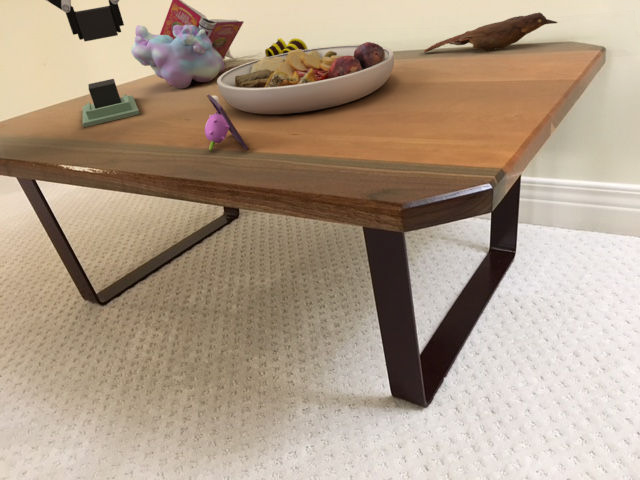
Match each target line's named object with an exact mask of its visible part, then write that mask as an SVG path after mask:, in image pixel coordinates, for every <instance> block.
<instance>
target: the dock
mask: <svg viewBox="0 0 640 480" xmlns="http://www.w3.org/2000/svg"><path fill="white" fill-rule="evenodd" d="M87 85H88V91H89V94H90V98H91V100H92V103H91V102H87V103H85V105H82V127H83V128H87V127H91V126H97V125H100V124H104V123H110V122H114V121H117V120H121V119H122V120H123V119H125V118H129V117H130V118H131V117H135V116H139V115H140V114H141V113H140V111H139V108H138V105H137V103H136V100H135V98H134V96H133V95H132V94H130V95H127V94H123V95H122V97H120V94H119V90H118V87H117V84H116V81H115V78H109V79H105V80H101V81H97V82H92V83H88V84H87Z"/></svg>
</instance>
